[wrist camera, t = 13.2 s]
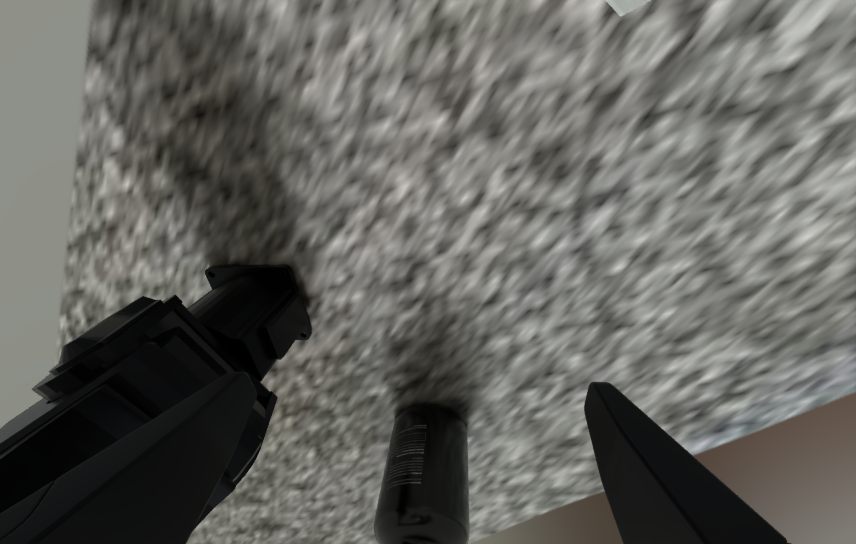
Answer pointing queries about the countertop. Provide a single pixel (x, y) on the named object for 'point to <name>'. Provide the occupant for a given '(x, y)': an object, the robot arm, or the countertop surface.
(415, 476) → the supplement bottle
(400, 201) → the countertop surface
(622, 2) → the sheet metal channel
